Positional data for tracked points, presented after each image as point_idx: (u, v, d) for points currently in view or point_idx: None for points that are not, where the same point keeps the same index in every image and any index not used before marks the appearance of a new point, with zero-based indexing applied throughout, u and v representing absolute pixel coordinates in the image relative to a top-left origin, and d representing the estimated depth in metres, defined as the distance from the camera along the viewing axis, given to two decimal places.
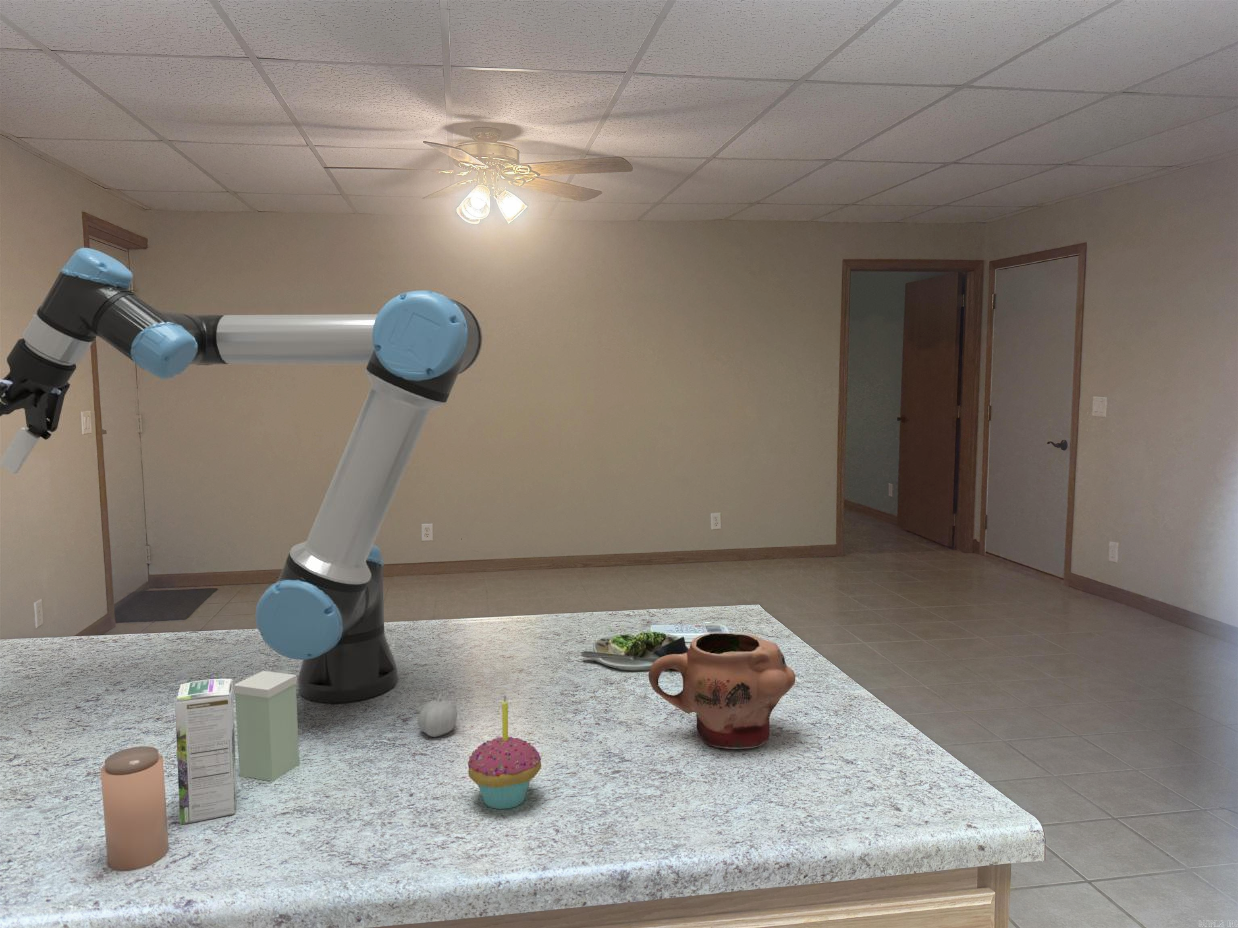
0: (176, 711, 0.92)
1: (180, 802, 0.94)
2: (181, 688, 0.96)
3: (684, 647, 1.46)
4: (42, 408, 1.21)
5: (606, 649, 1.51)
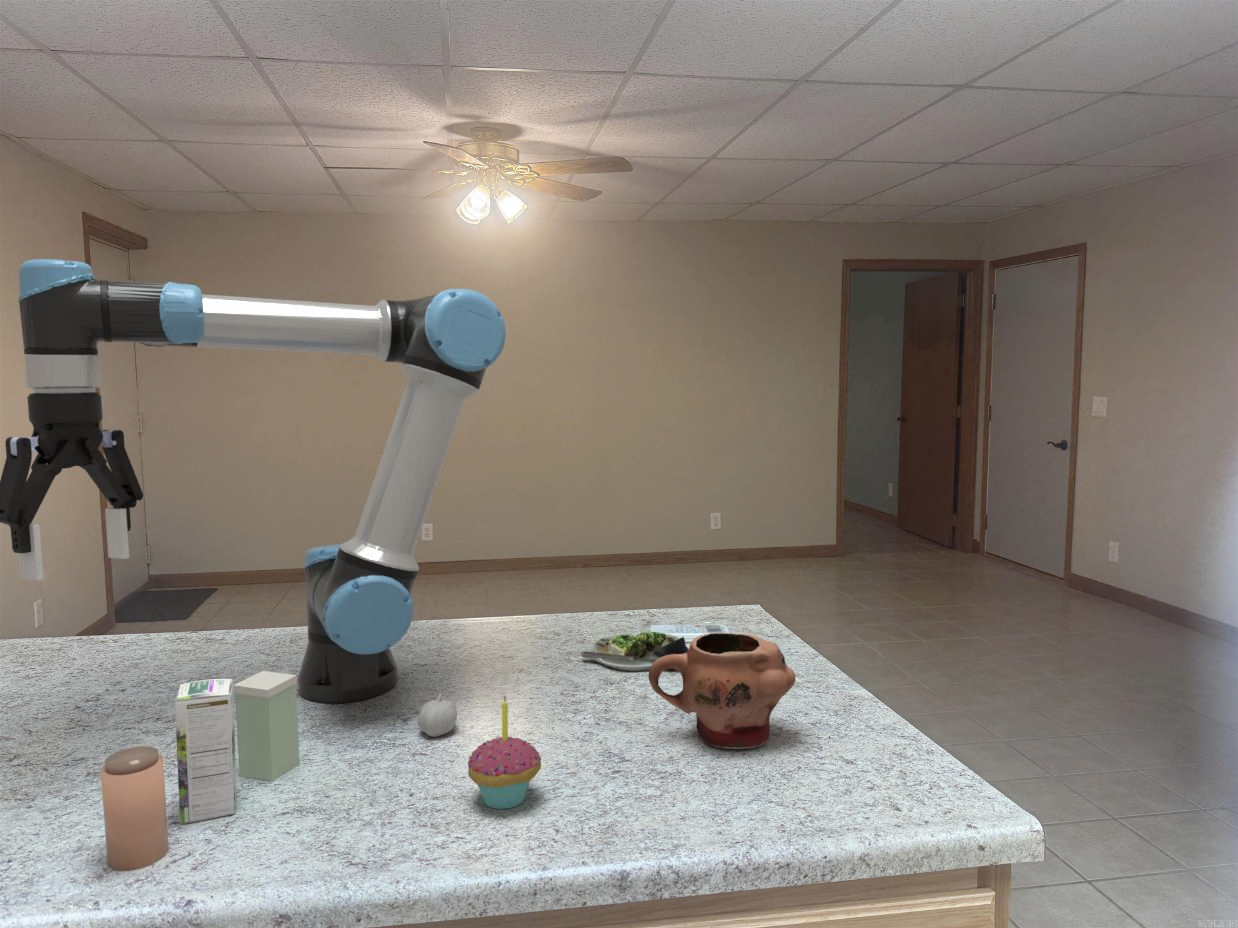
0: (176, 711, 0.92)
1: (180, 802, 0.94)
2: (181, 688, 0.96)
3: (684, 647, 1.46)
4: (100, 461, 1.05)
5: (606, 649, 1.51)
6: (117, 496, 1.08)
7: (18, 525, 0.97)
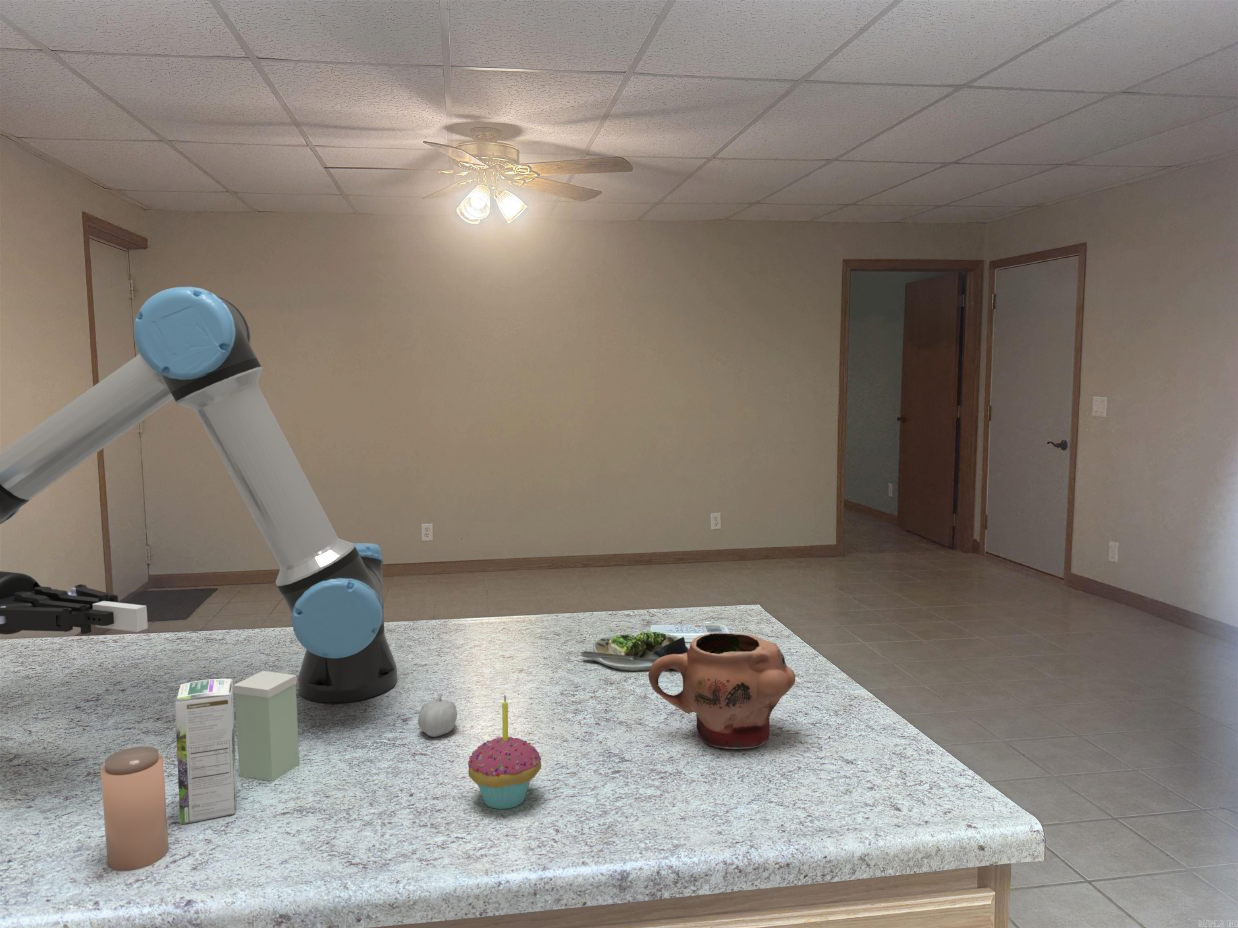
0: (176, 711, 0.93)
1: (180, 802, 0.94)
2: (181, 688, 0.96)
3: (684, 647, 1.46)
4: (56, 591, 1.03)
5: (606, 649, 1.51)
6: (88, 601, 1.01)
7: (86, 611, 0.98)
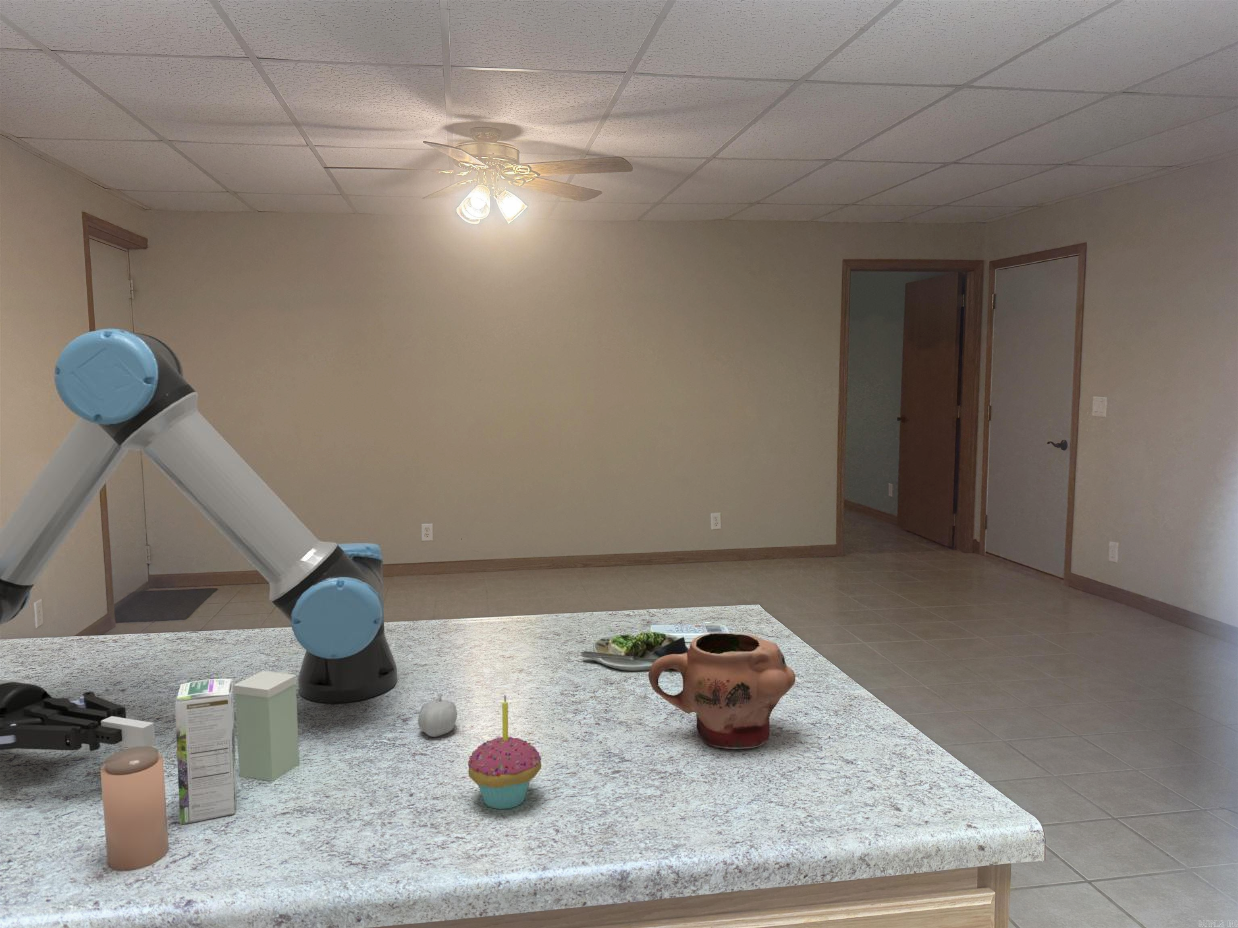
0: (176, 711, 0.93)
1: (180, 802, 0.94)
2: (181, 688, 0.96)
3: (684, 647, 1.46)
4: (65, 704, 1.04)
5: (606, 649, 1.51)
6: (96, 716, 1.02)
7: (95, 729, 1.00)
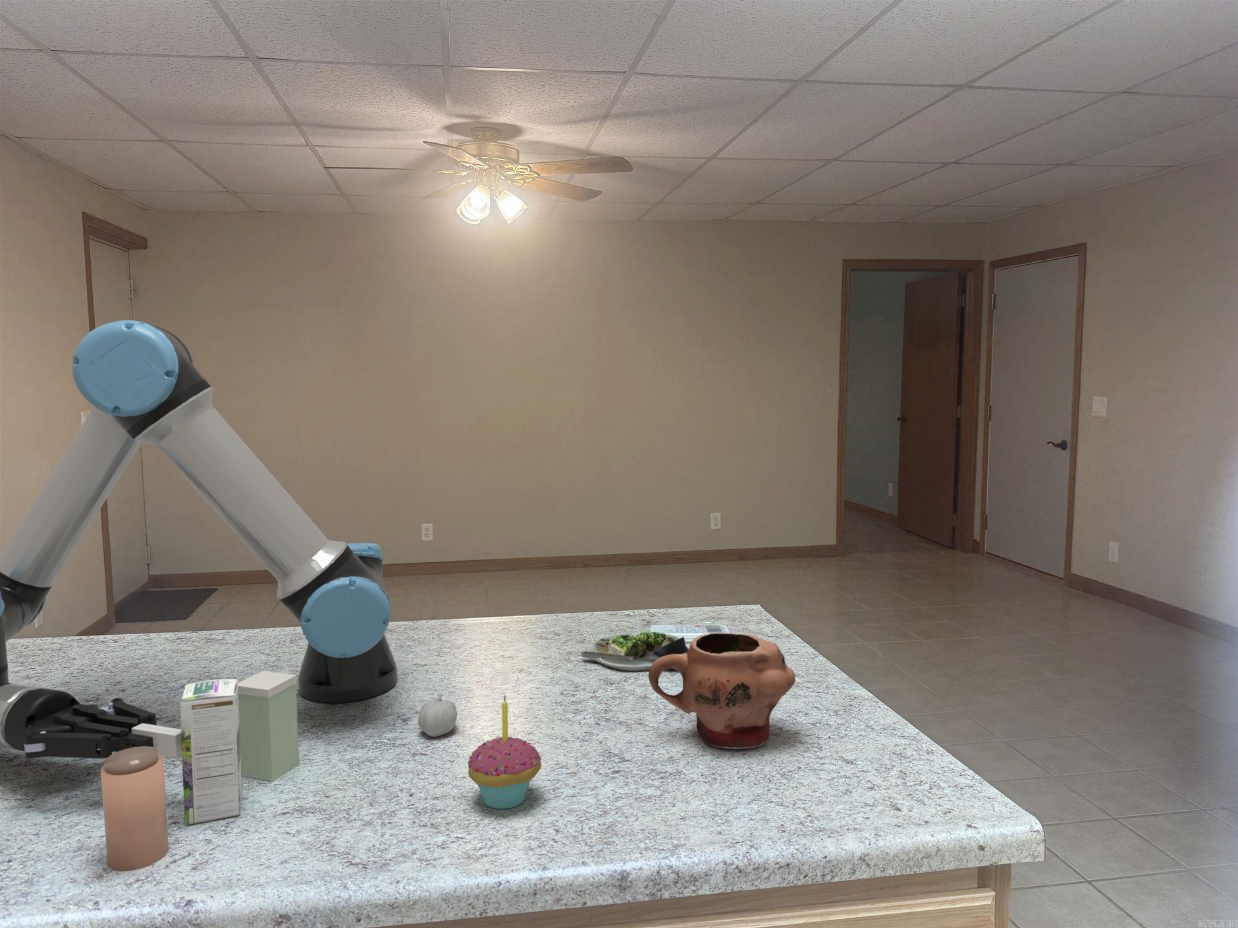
0: (181, 711, 0.92)
1: (185, 803, 0.93)
2: (186, 688, 0.96)
3: (684, 647, 1.46)
4: (94, 711, 1.02)
5: (606, 649, 1.51)
6: (127, 723, 1.01)
7: (126, 736, 0.98)
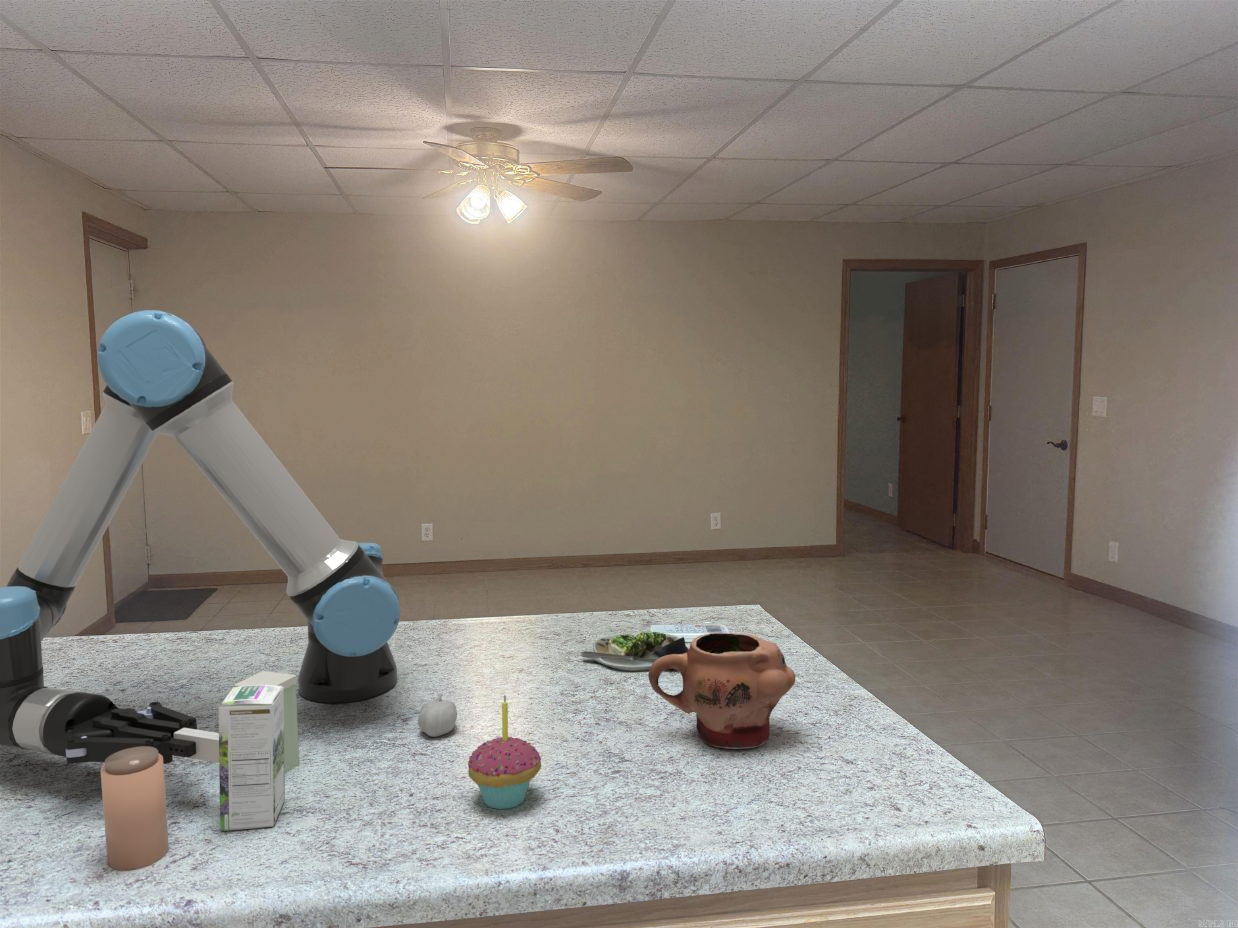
0: (219, 716, 0.91)
1: (220, 808, 0.92)
2: (231, 692, 0.95)
3: (684, 647, 1.46)
4: (134, 715, 1.01)
5: (606, 649, 1.51)
6: (168, 727, 0.99)
7: (168, 741, 0.96)
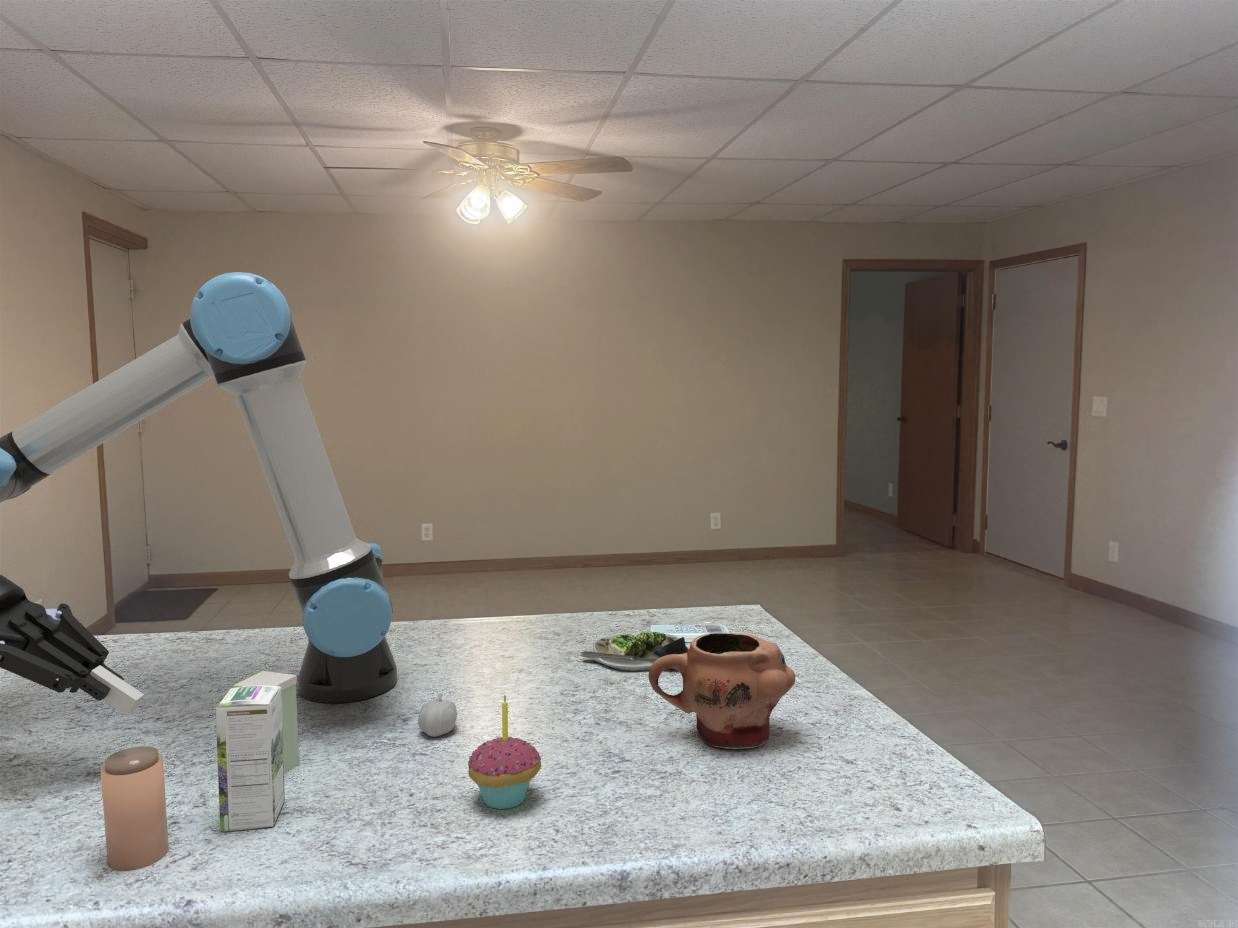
0: (216, 717, 0.91)
1: (220, 809, 0.92)
2: (228, 693, 0.95)
3: (684, 647, 1.46)
4: (49, 626, 1.04)
5: (606, 649, 1.51)
6: (82, 656, 1.04)
7: (84, 678, 1.02)
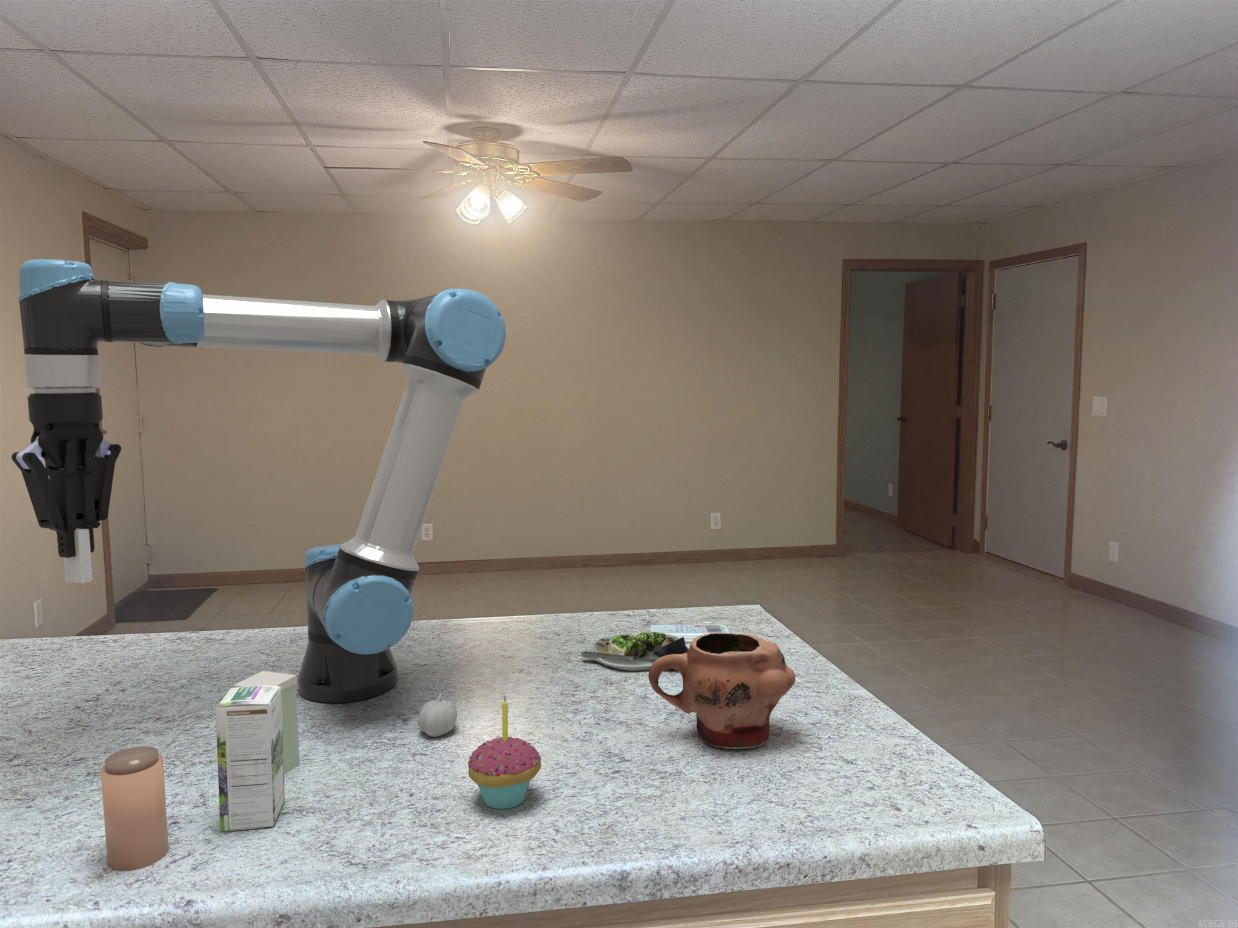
0: (216, 717, 0.91)
1: (220, 809, 0.92)
2: (228, 693, 0.95)
3: (684, 647, 1.46)
4: (88, 466, 1.04)
5: (606, 649, 1.51)
6: (85, 510, 1.04)
7: (67, 533, 1.02)
